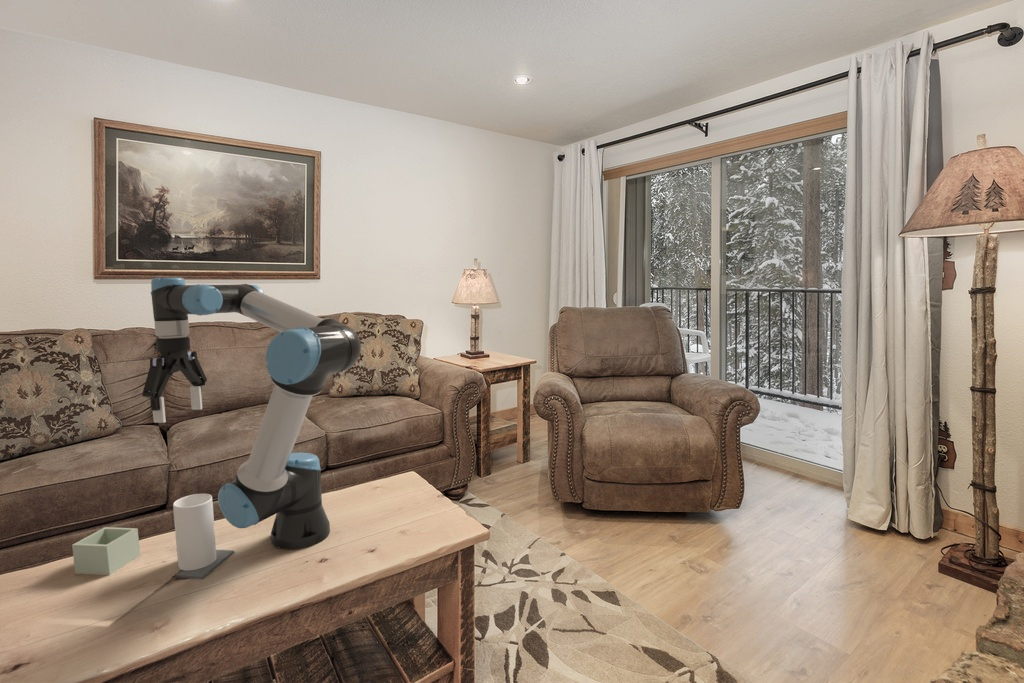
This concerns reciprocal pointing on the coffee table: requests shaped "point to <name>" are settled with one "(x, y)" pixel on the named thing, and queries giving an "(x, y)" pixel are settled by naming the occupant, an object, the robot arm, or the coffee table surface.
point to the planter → (106, 551)
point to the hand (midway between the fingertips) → (179, 415)
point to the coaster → (204, 571)
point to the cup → (194, 531)
